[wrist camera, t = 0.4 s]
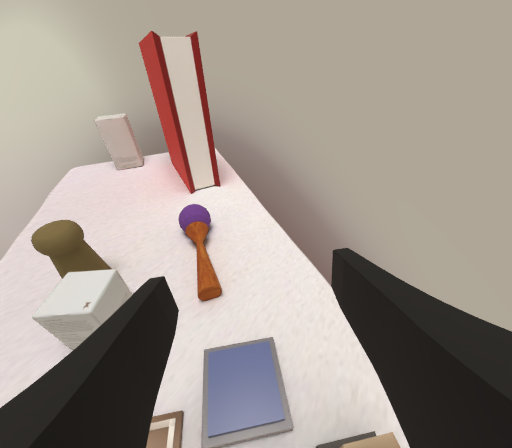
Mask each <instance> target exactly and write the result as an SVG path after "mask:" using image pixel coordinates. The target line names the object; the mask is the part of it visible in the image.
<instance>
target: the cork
mask: <svg viewBox="0 0 512 448" xmlns="http://www.w3.org/2000/svg"><path fill="white" fill-rule="evenodd" d="M83 239H84V233H83V230H82V229H81V227H80V226H79V225H78V224H77V223H75V222H73V221H70V220H59V221H54V222H51V223H48V224H46V225H44V226H42V227H40V228H39V229H38V230H36V232H35V233H34V234H33V235H32V240H31V241H32V244H33V246H34V248H35V249H36V250H37V251H38V252H40V253H42V254H44V255H47V256H49V257H50V259H51V260H52V262H53V264H54V265H55V267H56V269H57V271H58V272H59V274H60V276H61V277H62V279H63V278H64V276H65V275H66V274H67V273H68V272H82V271H96V270H111V268H110V267H109V266H108V265H107V264H106V263H105V262H104V261H103V260H102V259H101V257H100V256H99V255H98V254H97V253H96V252H95V251H94V250H93V249H92V248H91V247H90V246H89V245H88V244H87V243H86V242H85V241H84V240H83Z"/></svg>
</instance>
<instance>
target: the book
mask: <svg viewBox="0 0 512 448" xmlns="http://www.w3.org/2000/svg"><path fill="white" fill-rule="evenodd" d="M139 46H140V49H141V53H142V56H143V60H144V63H145V67H146V71H147V74H148V78H149V82H150V85H151V89H152V92H153V96H154V99H155V103H156V106H157V110H158V114H159V118H160V121H161V125H162V128H163V132H164V136H165V139H166V143H167V146H168V150H169V154H170V157H171V161H172V164H173V165H174V167H175V169H176V170H177V172H178V173H179V175H180V177H181V178H182V180H183V181H184V183H185V185H186V186H187V188H188V189H189V191H190V193H191V194H192V193H193V192H194V191H195V190H197V189H200V188H204V187H208V186H212V185H217V186H220V181H219V175H218V168H217V161H216V155H215V148H214V142H213V135H212V129H211V122H210V115H209V108H208V102H207V95H206V88H205V82H204V75H203V69H202V62H201V55H200V48H199V42H198V36H197V32H194V33H192V34H190V35H187V36H185V37H160V36H158V35H157V34H156V33H154V32H153V31H151V32H150V33H149V34H148V35H147V36H146V37H145V38H144V39H143V40H142V41H141V42H140V43H139Z"/></svg>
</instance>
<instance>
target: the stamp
mask: <svg viewBox="0 0 512 448" xmlns="http://www.w3.org/2000/svg"><path fill="white" fill-rule="evenodd" d="M316 448H400V446H399V444H398V442H397V440H396V438H395V436H394V434H393V432H391V433H387V434H383V435H379V436H376V434H375V431H374V432H370V433H366V434H362V435H358V436H354V437H350V438H346V439H342V440H338V441H334V442H330V443H326V444H322V445H317V447H316Z"/></svg>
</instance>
